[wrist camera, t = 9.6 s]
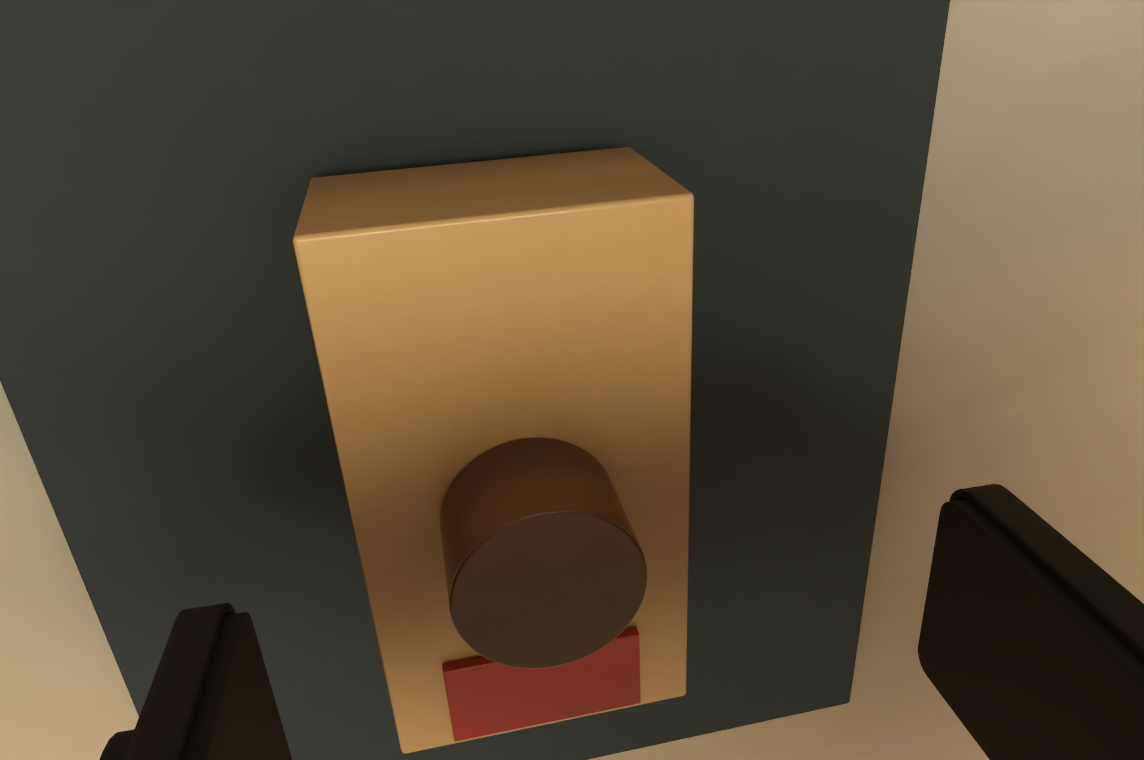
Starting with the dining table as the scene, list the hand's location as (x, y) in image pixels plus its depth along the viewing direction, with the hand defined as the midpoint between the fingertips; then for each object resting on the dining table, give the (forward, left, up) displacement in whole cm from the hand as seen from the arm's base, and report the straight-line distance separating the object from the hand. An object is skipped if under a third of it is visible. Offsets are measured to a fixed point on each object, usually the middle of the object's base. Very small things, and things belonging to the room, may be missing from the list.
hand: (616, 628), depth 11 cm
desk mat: (+1, +1, -6) cm, 6 cm away
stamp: (+1, +1, -5) cm, 5 cm away
